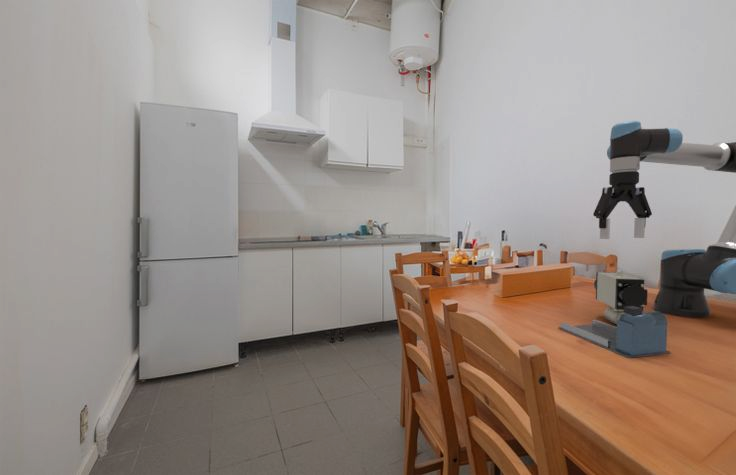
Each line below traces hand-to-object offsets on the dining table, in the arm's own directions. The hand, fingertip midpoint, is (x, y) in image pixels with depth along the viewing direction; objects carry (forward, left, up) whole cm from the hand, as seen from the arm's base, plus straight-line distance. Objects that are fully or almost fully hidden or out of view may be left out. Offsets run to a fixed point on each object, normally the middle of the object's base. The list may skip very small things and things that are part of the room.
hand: (622, 238), depth 106 cm
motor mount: (+16, +11, -28) cm, 34 cm away
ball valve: (0, 0, -28) cm, 28 cm away
